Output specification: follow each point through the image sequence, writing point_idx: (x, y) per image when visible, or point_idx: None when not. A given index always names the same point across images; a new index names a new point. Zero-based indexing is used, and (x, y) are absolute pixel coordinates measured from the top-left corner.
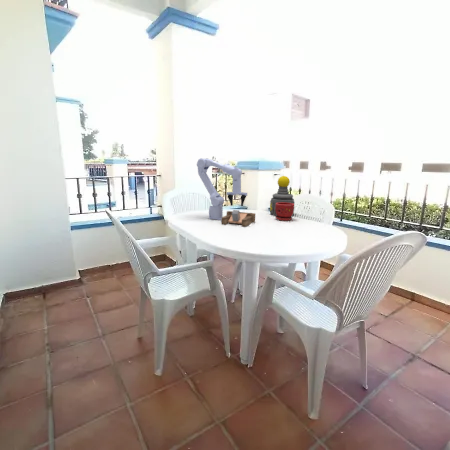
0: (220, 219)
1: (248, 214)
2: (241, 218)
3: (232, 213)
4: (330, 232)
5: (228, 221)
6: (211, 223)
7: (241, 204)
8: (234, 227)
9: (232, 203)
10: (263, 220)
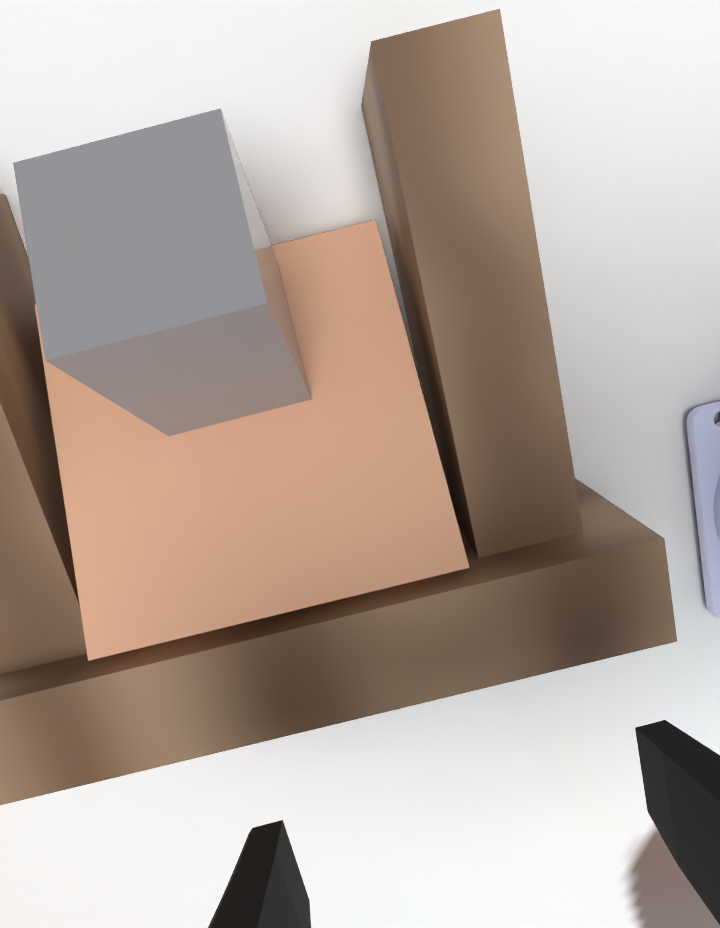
0: (690, 416)
1: (66, 674)
2: (129, 425)
3: (191, 116)
4: None
5: (374, 227)
6: (687, 4)
7: (255, 869)
8: (59, 2)
9: (686, 860)
10: (14, 865)
